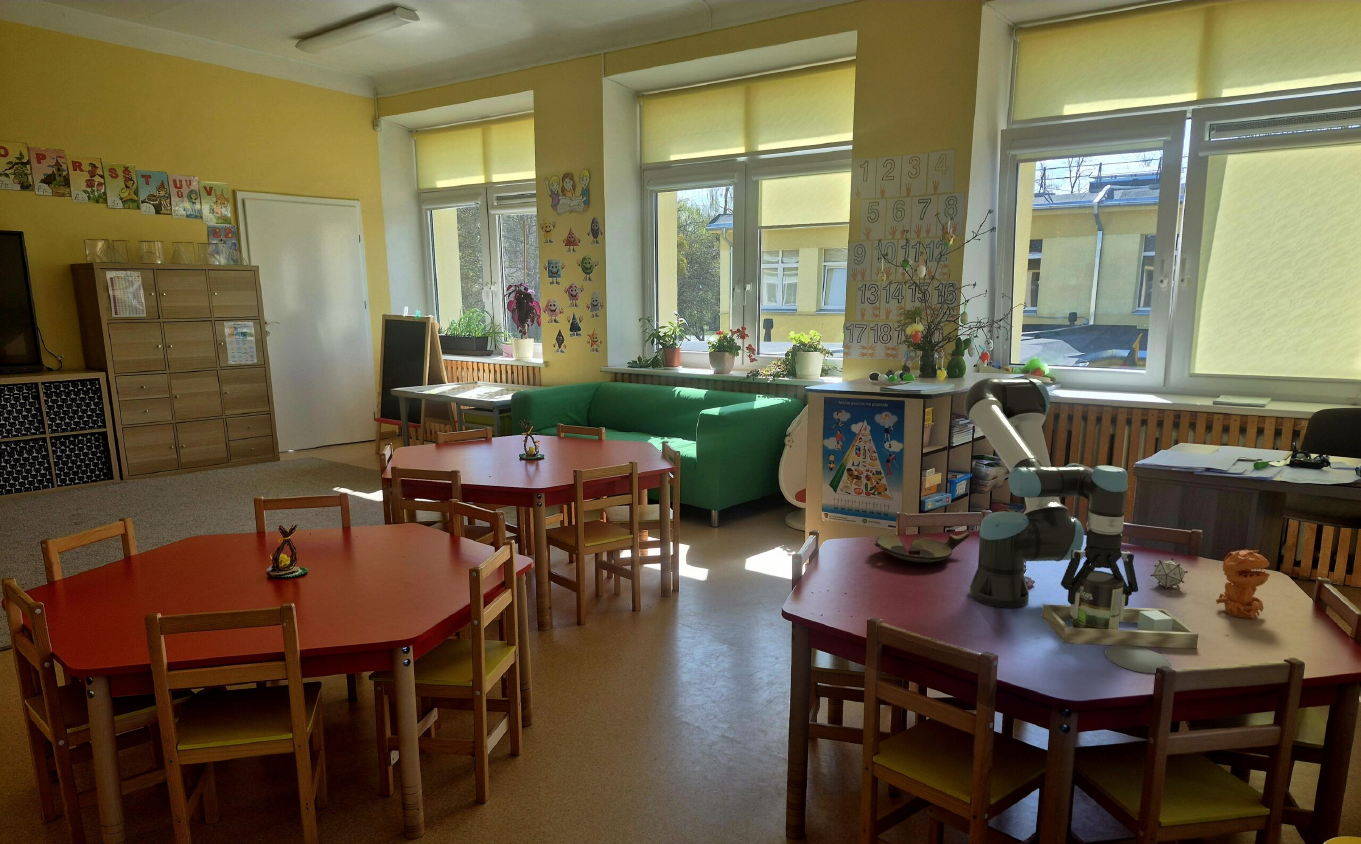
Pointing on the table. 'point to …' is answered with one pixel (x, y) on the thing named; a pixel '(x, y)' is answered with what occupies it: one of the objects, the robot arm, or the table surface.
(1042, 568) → the table surface
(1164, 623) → the pale green cube
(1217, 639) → the table surface
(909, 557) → the oil lamp
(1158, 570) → the game die
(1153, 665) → the trivet
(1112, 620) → the coffee can
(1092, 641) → the frame
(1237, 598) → the toy dinosaur
